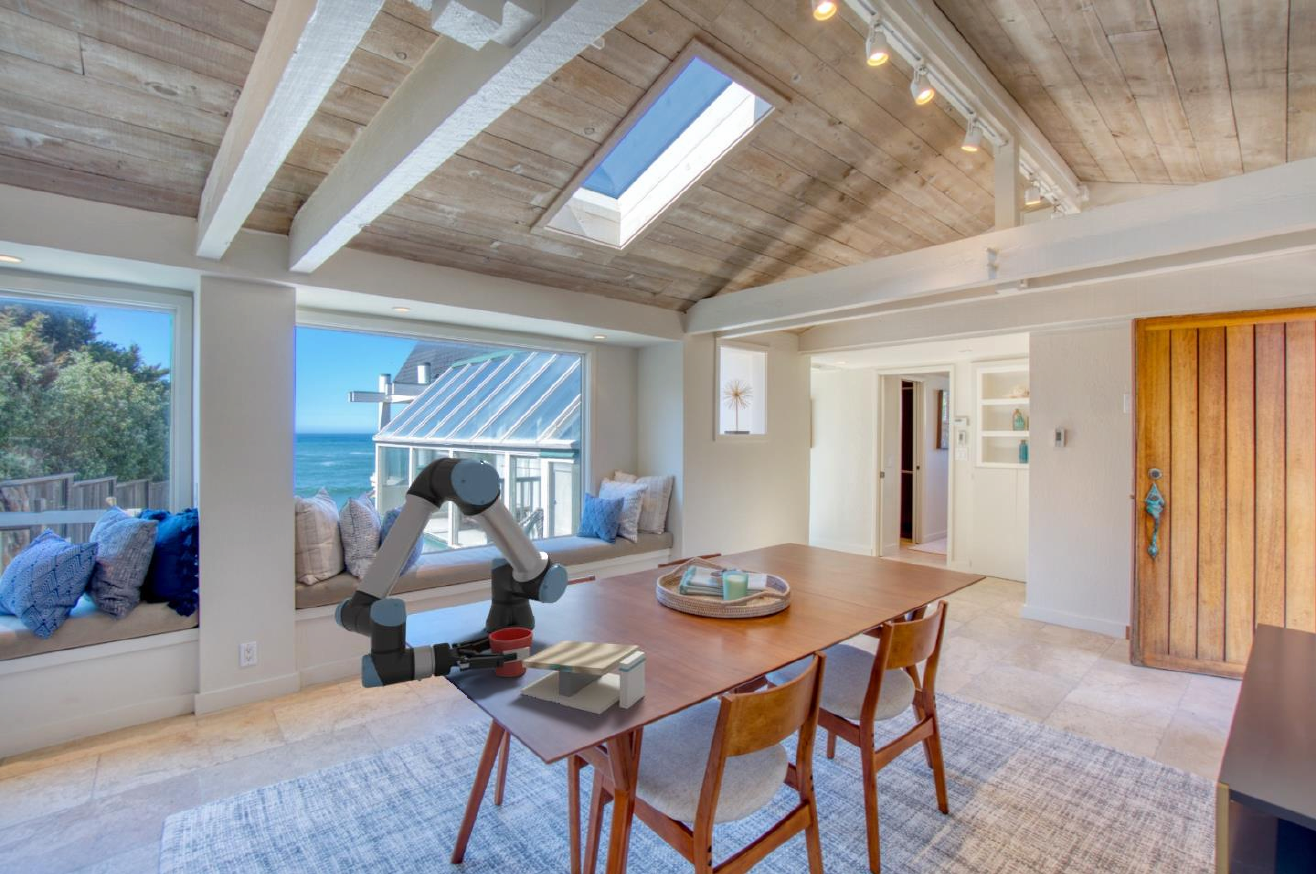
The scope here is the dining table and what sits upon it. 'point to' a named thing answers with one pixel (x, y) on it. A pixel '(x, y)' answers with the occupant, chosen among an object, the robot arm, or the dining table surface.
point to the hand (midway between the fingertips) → (523, 646)
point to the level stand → (593, 687)
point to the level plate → (581, 657)
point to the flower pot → (510, 648)
